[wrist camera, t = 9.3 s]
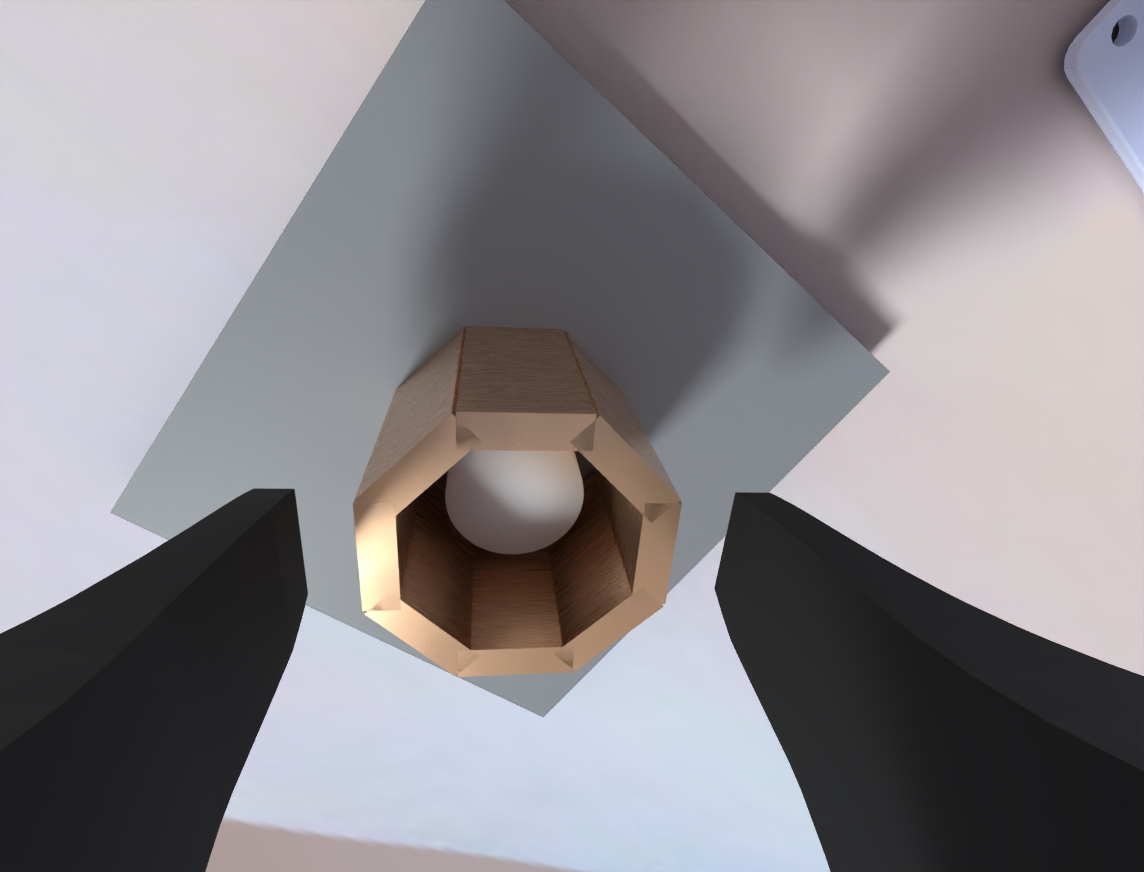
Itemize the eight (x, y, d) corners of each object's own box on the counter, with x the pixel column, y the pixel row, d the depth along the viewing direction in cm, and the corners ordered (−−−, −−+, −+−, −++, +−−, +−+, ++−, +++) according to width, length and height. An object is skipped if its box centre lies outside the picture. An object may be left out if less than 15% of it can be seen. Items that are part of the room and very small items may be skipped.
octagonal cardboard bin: (391, 323, 13) (343, 409, 9) (633, 331, 13) (696, 415, 9) (401, 531, 15) (368, 680, 11) (611, 529, 15) (654, 669, 11)
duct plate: (457, -32, 11) (445, -100, 8) (866, 358, 15) (963, 414, 12) (133, 489, 14) (34, 586, 11) (540, 689, 19) (551, 800, 16)
